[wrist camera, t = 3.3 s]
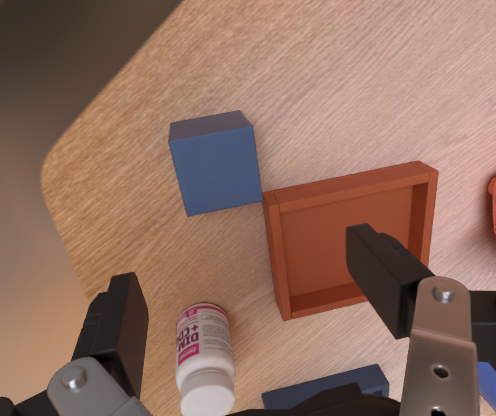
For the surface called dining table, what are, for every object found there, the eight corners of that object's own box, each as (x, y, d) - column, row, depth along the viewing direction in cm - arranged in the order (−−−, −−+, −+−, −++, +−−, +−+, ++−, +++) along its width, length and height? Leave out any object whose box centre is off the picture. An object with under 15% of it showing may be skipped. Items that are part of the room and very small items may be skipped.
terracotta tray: (276, 302, 33) (283, 321, 31) (261, 192, 28) (268, 206, 26) (409, 270, 35) (425, 287, 32) (418, 160, 29) (439, 170, 27)
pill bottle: (187, 295, 31) (190, 376, 24) (235, 308, 33) (251, 387, 25) (168, 334, 33) (164, 422, 25) (214, 344, 34) (224, 429, 27)
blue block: (185, 187, 27) (187, 217, 22) (170, 122, 25) (168, 141, 20) (249, 174, 27) (263, 201, 23) (240, 110, 25) (252, 125, 21)
